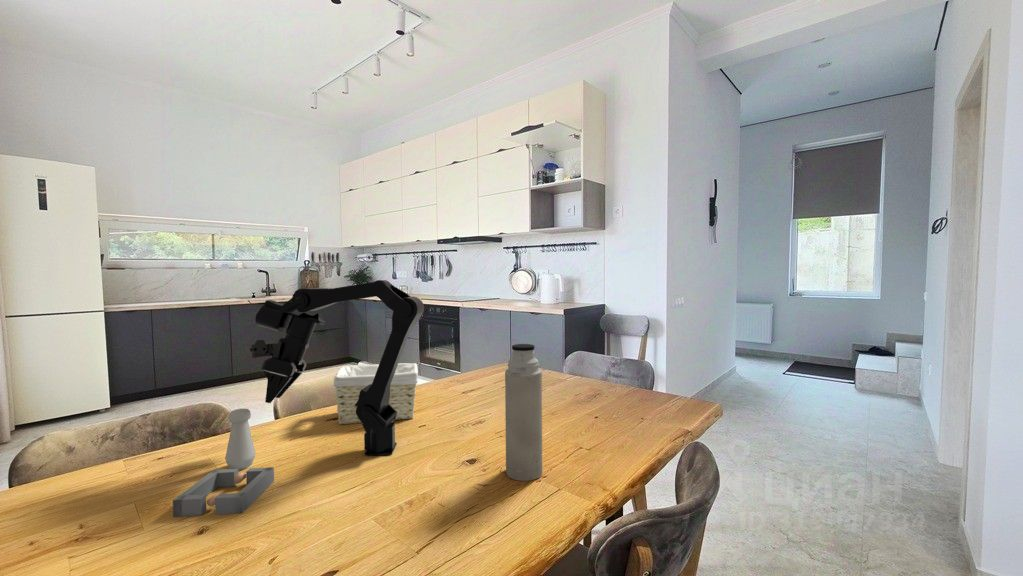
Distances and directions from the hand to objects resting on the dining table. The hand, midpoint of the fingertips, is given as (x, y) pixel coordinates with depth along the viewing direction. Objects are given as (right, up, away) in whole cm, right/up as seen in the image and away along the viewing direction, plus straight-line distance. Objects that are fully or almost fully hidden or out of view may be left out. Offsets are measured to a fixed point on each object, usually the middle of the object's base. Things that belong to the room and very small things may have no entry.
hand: (272, 400), depth 101 cm
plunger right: (+1, -13, -13) cm, 19 cm away
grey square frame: (+1, -14, -18) cm, 23 cm away
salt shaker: (-5, -14, -4) cm, 16 cm away
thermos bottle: (+60, -14, -8) cm, 62 cm away
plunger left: (+2, -13, -22) cm, 26 cm away
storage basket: (+16, -13, +31) cm, 37 cm away
